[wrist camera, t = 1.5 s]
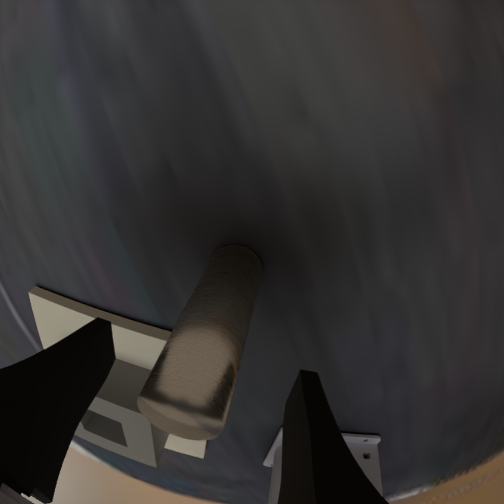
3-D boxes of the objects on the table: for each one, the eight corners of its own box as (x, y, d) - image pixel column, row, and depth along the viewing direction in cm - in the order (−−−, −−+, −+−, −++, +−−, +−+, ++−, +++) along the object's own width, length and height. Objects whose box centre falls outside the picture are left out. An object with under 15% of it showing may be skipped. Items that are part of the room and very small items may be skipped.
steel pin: (267, 251, 17) (229, 406, 8) (257, 296, 19) (219, 448, 10) (213, 239, 17) (132, 377, 9) (207, 284, 19) (141, 424, 10)
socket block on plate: (223, 345, 21) (205, 402, 16) (205, 450, 28) (194, 490, 23) (35, 286, 21) (-2, 319, 17) (70, 402, 28) (50, 433, 24)
